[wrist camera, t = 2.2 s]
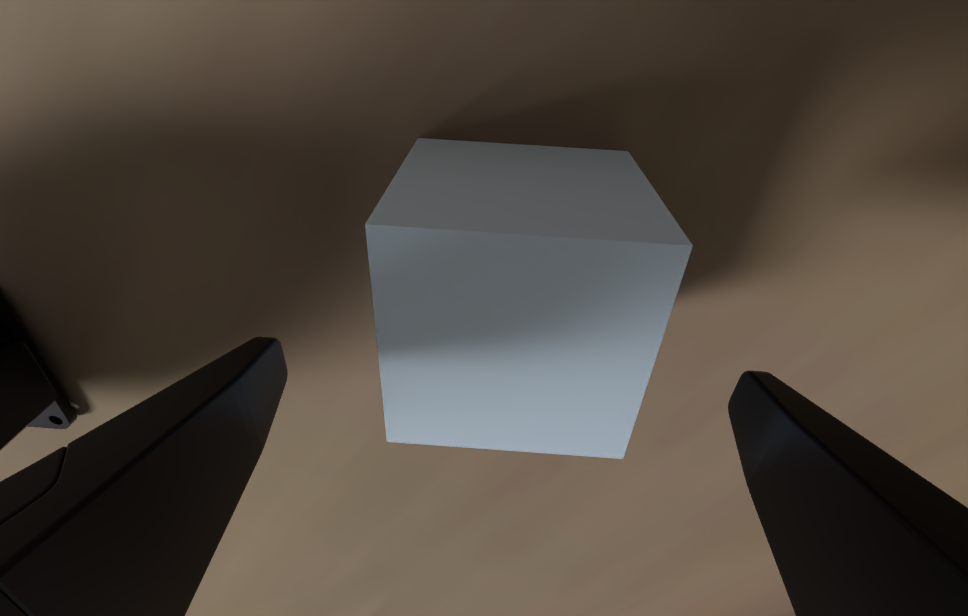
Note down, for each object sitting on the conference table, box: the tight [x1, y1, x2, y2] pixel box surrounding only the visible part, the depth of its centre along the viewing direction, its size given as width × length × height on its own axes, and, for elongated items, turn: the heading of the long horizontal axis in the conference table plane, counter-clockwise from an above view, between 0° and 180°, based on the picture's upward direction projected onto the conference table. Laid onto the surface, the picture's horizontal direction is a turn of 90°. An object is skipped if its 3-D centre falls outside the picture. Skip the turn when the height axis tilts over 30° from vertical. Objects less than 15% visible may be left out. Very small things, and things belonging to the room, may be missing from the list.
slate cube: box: [365, 138, 693, 459], centre depth 12 cm, size 6×6×6 cm
